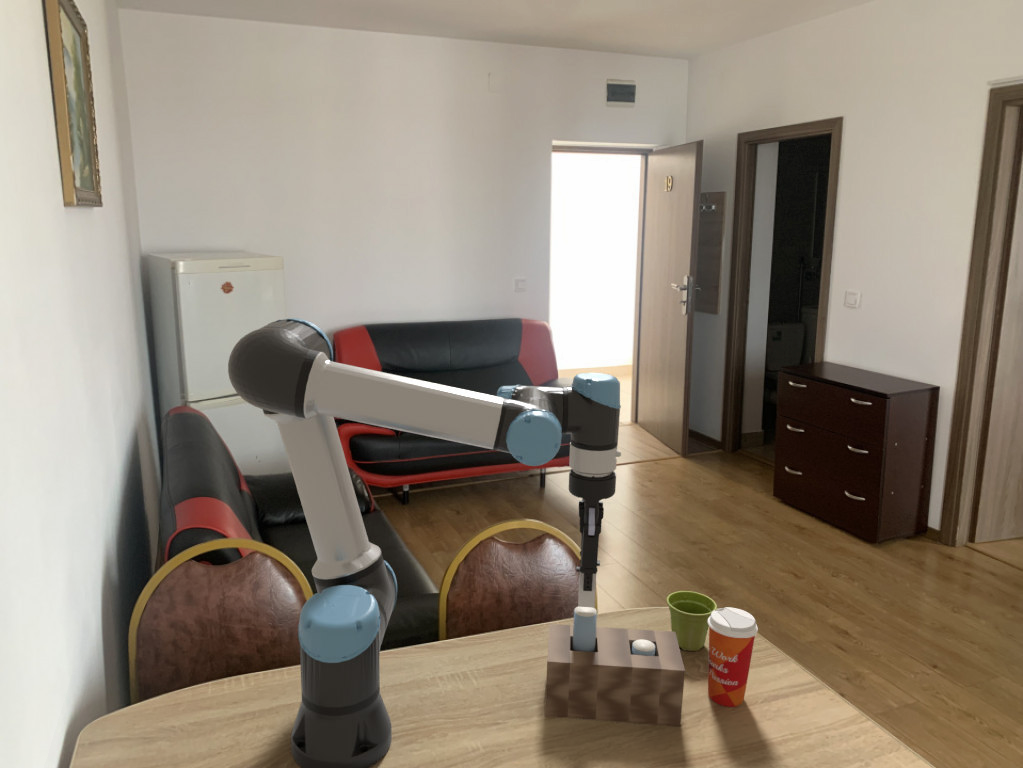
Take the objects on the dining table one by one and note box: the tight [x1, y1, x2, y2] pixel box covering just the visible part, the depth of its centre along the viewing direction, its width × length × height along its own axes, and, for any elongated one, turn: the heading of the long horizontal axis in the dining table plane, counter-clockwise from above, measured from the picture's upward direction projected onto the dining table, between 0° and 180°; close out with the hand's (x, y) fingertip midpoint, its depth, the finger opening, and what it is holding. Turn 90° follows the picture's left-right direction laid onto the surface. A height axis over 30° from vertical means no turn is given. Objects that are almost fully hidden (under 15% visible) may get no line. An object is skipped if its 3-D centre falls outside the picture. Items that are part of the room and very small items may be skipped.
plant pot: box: [666, 590, 718, 652], centre depth 150 cm, size 9×9×9 cm
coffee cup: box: [707, 606, 759, 708], centre depth 132 cm, size 8×8×15 cm
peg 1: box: [572, 606, 598, 652], centre depth 130 cm, size 4×4×10 cm
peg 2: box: [632, 639, 655, 656], centre depth 131 cm, size 4×4×10 cm
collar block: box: [544, 623, 686, 727], centre depth 131 cm, size 22×12×10 cm, turn 86°
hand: (586, 604), depth 129 cm, fingers closed
